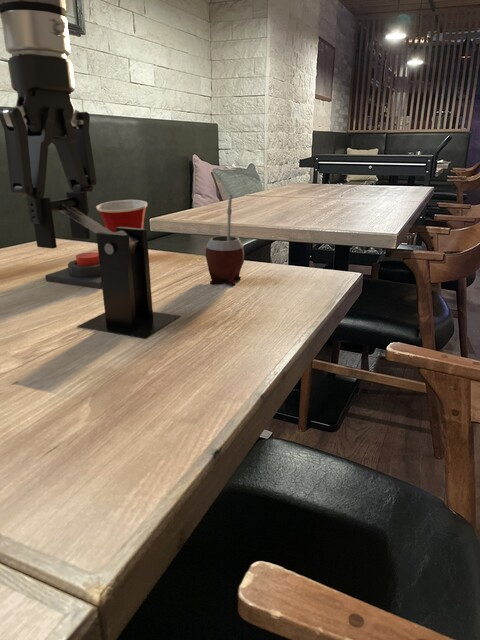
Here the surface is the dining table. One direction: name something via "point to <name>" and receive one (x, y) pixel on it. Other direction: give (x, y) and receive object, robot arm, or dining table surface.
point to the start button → (87, 259)
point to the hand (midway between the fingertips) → (64, 242)
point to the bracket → (126, 287)
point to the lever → (86, 219)
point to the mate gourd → (225, 256)
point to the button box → (77, 276)
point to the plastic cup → (123, 214)
